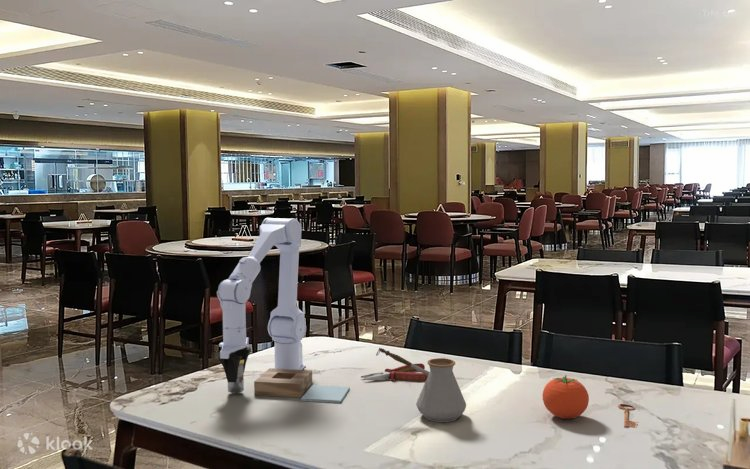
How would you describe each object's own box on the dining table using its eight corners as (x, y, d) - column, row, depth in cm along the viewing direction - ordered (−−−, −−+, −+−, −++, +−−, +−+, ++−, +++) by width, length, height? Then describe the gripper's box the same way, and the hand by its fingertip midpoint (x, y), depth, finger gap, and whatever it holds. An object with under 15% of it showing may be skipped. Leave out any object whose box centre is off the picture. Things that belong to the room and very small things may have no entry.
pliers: (356, 376, 185) (356, 367, 185) (423, 370, 191) (423, 361, 191) (368, 388, 174) (368, 379, 174) (438, 382, 180) (438, 372, 180)
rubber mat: (312, 387, 174) (312, 385, 174) (349, 389, 172) (349, 386, 172) (301, 400, 163) (301, 398, 163) (340, 403, 161) (340, 400, 161)
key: (644, 433, 144) (643, 410, 158) (645, 429, 144) (644, 406, 158) (616, 427, 146) (617, 405, 160) (616, 423, 146) (618, 401, 160)
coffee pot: (470, 410, 156) (470, 348, 155) (461, 428, 145) (461, 361, 144) (383, 401, 162) (383, 341, 161) (369, 417, 152) (368, 353, 150)
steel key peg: (230, 387, 171) (230, 357, 170) (247, 388, 170) (246, 357, 170) (224, 392, 167) (223, 361, 166) (240, 393, 166) (240, 362, 165)
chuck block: (269, 380, 179) (269, 368, 179) (312, 383, 177) (312, 370, 177) (254, 394, 168) (254, 381, 167) (300, 397, 166) (299, 383, 165)
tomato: (586, 411, 155) (587, 370, 154) (589, 427, 145) (591, 383, 144) (542, 408, 157) (542, 367, 157) (542, 423, 148) (542, 379, 147)
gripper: (230, 320, 175) (231, 370, 176) (207, 332, 161) (209, 387, 162) (255, 321, 174) (256, 371, 175) (235, 333, 159) (236, 388, 161)
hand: (235, 379), depth 168 cm, fingers closed on steel key peg, 4 cm apart
